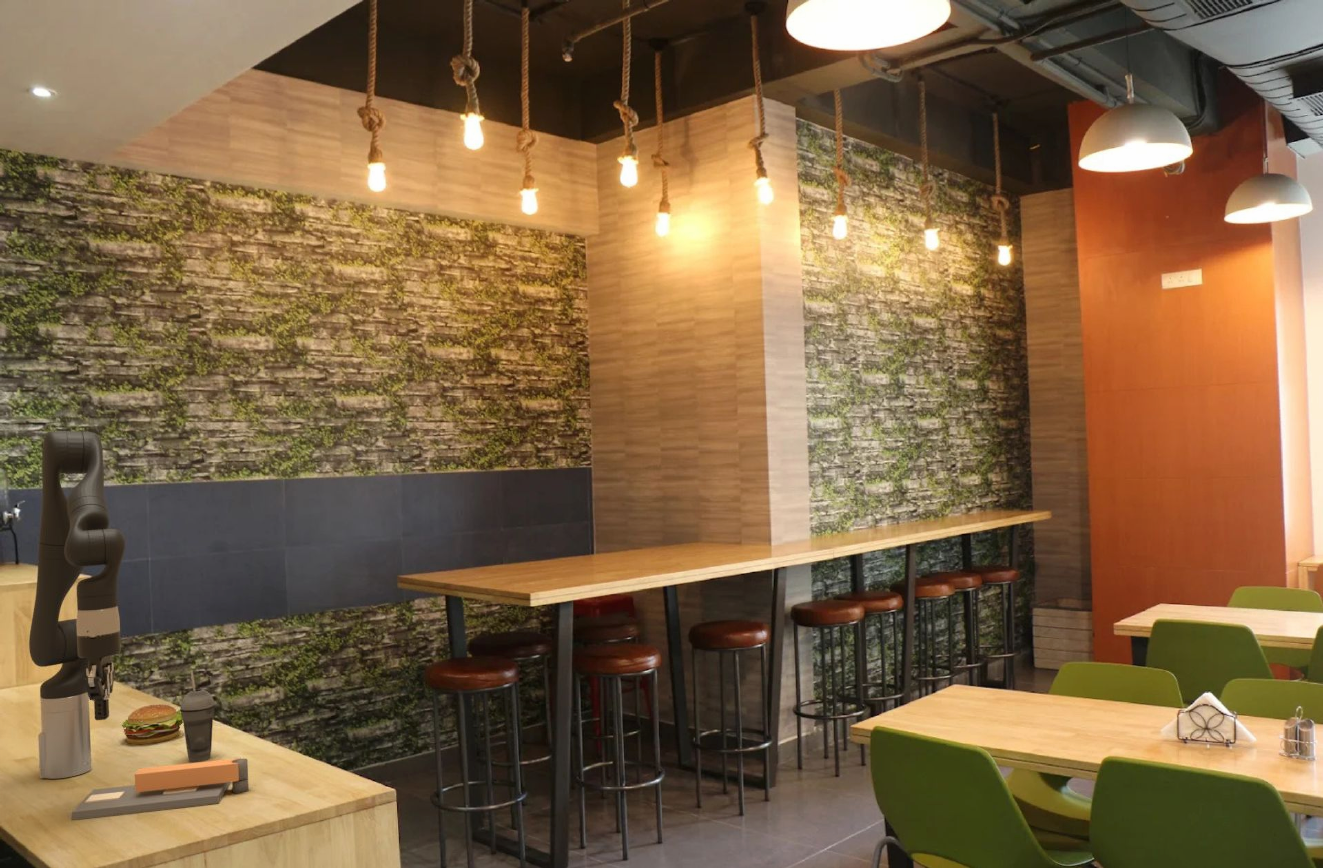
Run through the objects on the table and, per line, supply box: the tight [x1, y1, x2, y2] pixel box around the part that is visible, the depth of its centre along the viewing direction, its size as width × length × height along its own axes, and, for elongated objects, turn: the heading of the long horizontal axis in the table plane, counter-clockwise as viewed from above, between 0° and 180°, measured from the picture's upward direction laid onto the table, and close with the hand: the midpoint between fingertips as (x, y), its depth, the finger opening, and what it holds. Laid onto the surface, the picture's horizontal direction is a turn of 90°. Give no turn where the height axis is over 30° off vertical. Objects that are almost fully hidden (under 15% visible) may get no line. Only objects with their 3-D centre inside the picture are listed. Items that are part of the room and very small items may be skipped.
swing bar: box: [134, 757, 249, 792], centre depth 210 cm, size 20×4×4 cm, turn 103°
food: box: [121, 704, 183, 745], centre depth 257 cm, size 14×14×8 cm
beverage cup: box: [179, 669, 216, 763], centre depth 237 cm, size 7×7×20 cm
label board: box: [70, 777, 250, 821], centre depth 209 cm, size 30×14×2 cm, turn 103°
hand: (102, 718), depth 207 cm, fingers closed
